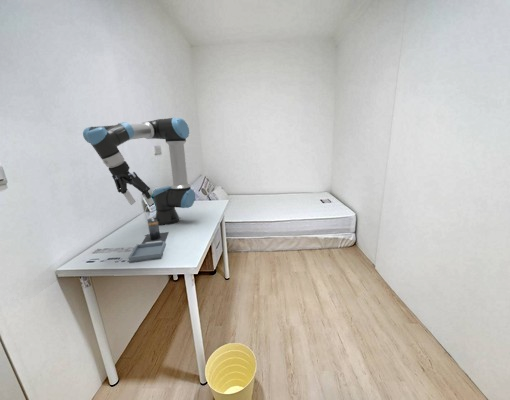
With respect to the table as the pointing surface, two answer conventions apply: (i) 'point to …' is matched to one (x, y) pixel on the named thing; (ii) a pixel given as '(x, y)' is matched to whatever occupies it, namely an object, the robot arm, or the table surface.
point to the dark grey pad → (148, 240)
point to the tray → (147, 252)
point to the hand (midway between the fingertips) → (142, 203)
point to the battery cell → (154, 228)
